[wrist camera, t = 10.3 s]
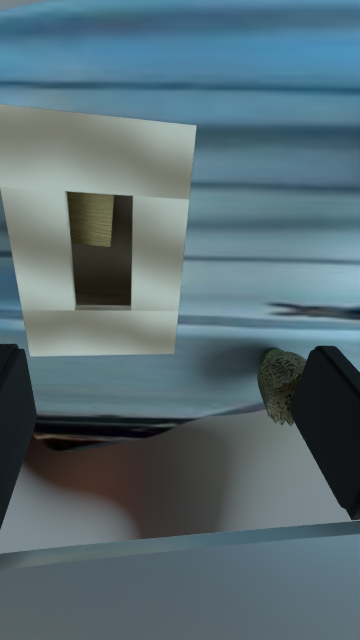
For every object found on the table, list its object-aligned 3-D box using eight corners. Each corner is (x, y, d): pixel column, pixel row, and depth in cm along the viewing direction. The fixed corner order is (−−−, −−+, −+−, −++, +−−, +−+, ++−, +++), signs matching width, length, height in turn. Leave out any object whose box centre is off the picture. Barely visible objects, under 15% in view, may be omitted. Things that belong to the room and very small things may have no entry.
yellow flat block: (49, 240, 27) (47, 161, 24) (54, 232, 29) (53, 159, 26) (110, 247, 28) (115, 173, 25) (111, 239, 30) (116, 169, 27)
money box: (161, 298, 35) (174, 353, 26) (54, 297, 33) (30, 356, 24) (173, 126, 27) (196, 125, 18) (32, 111, 25) (-16, 102, 16)
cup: (267, 324, 39) (298, 366, 32) (310, 345, 41) (347, 388, 35) (233, 369, 41) (254, 417, 35) (275, 386, 44) (303, 433, 37)
